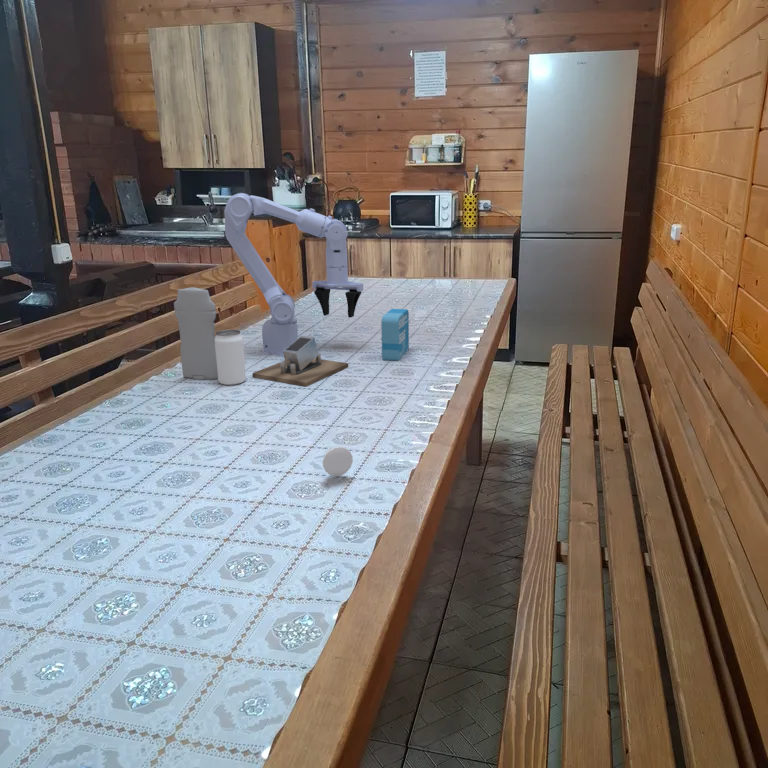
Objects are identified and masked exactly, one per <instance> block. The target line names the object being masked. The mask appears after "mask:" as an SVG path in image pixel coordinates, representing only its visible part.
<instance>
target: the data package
mask: <svg viewBox="0 0 768 768" xmlns="http://www.w3.org/2000/svg"><path fill="white" fill-rule="evenodd" d="M409 317H410V315H409V309H407V308H406V309H405V308H391V309H390V310H388V311H387V312H386V313H384V315H382V316H381V320H380V321H381V325H380V326H381V358H382V360H383V361H398V362H399V361H400V360H401V359H402V358H403V357H404V355H405V354H406V353H407V351H408V350H409V346H410V345H409V343H410V342H409V340H410V339H409V338H410V337H409V334H410V332H409V331H410V328H409V327H410V323H409V322H410V320H409Z"/></svg>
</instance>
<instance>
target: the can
mask: <svg viewBox="0 0 768 768" xmlns="http://www.w3.org/2000/svg"><path fill="white" fill-rule="evenodd" d="M243 339H244V338H243V336H242V334H241V330H237V329H223V330H219V331H215V351H216V362H217V372H218V379H217V381H218V383H219V384H221V385H224V386H235V385H240V384H243V383H245V381H246V380H247V375H246V373H247V371H246V363H245V362H246V361H245V349H244V340H243Z"/></svg>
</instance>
